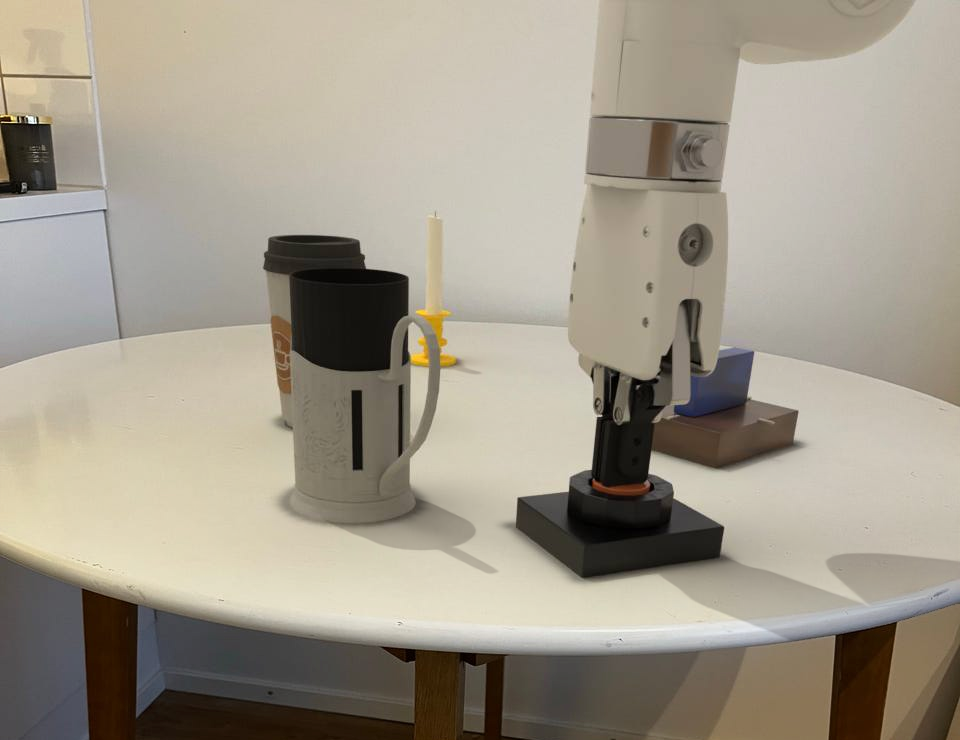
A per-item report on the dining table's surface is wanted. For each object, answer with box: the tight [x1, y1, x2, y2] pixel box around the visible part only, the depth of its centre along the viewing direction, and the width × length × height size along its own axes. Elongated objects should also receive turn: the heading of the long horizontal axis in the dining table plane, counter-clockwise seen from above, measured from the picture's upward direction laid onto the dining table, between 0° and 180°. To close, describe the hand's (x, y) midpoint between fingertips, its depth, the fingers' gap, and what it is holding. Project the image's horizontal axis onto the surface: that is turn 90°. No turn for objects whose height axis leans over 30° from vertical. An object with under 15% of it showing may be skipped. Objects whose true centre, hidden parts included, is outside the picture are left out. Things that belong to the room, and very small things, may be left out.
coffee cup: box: [262, 234, 367, 429], centre depth 85 cm, size 8×8×15 cm
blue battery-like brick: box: [674, 346, 755, 417], centre depth 85 cm, size 8×2×5 cm, turn 134°
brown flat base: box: [651, 396, 799, 469], centre depth 87 cm, size 12×12×3 cm
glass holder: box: [289, 268, 442, 524], centre depth 65 cm, size 9×14×15 cm, turn 37°
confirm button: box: [592, 479, 650, 496], centre depth 64 cm, size 4×4×2 cm
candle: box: [410, 210, 457, 368], centre depth 109 cm, size 5×5×16 cm
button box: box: [515, 469, 725, 579], centre depth 65 cm, size 10×9×4 cm
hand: (619, 480), depth 64 cm, fingers closed
